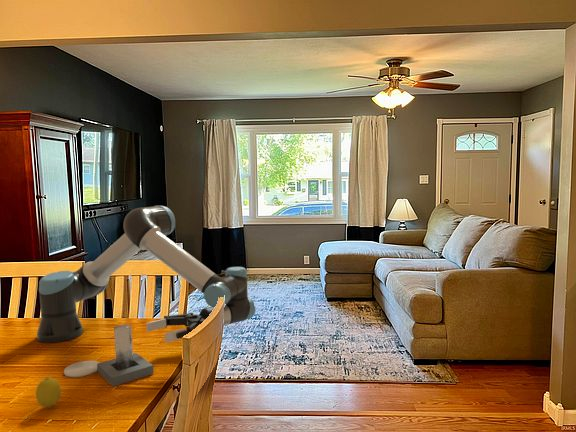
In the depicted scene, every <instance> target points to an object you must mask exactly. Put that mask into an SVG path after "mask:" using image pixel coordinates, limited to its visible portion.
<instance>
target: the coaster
mask: <svg viewBox="0 0 576 432" xmlns="http://www.w3.org/2000/svg"><path fill="white" fill-rule="evenodd" d="M98 363H100V362H99V361H96V360H84V361H83V360H82V361H78V362H75V363H72V364H70V365H68V366H66V367H65V368H64V370H63V375H64V376H65V377H68V378H81V377H85V376H90V375H92V374H95V373H97V364H98Z"/></svg>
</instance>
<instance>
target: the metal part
mask: <svg viewBox="0 0 576 432" xmlns="http://www.w3.org/2000/svg"><path fill="white" fill-rule="evenodd" d="M113 330H114V332H113V333H114V347H115V348H114V349H115V359H116V370H117V371H120V370H123V369H127V368H130V367H133V350H134V349H133V334H132V333H133V332H132V331H133V329H132V325H131V324H127V323H126V324H119V325H116V326H115V327H114V328H113Z"/></svg>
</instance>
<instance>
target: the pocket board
mask: <svg viewBox="0 0 576 432" xmlns="http://www.w3.org/2000/svg"><path fill="white" fill-rule="evenodd" d="M96 373H98V374H99V375H100V376H101V377H102V378H103V379H104V380H105V381H107V383H108V384H110V386H112V387H115V386H118V385H121V384H125V383H127V382H128V383H129V382H130V381H134V380H137V379H140V378H143V377H147V376H150V375H153V374H154V365H153V364H152V363H151V362H149V361H148V360H147V359H145V358H144V357H142V356H141V355H139V354H138V353H137V352H134V353H133V367H130V368H127V369H123V370H120V371H117V370H116V358H113V359H108V360H105V361H102V362H99V363H98V364H97V371H96Z"/></svg>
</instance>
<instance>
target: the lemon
mask: <svg viewBox="0 0 576 432" xmlns="http://www.w3.org/2000/svg"><path fill="white" fill-rule="evenodd" d="M61 389H62V388H61V385H60V382H59V381H58V380H57V379H56V378H53V377H49V376H46V377H45V378H44V379H42V380H41V381H40V382H39V383H38V384H37V387H36V390H35V391H36V392H35V397H36V401H37V403H38V404H39V405H40V406H42V407H45V408H49V409H50V408H51V407H53V405H55V404H57V402H58V401H59V400H60V398H61V392H62V390H61Z"/></svg>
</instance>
